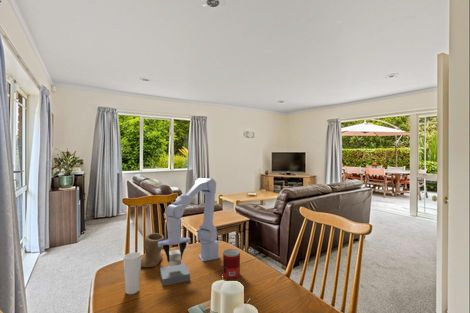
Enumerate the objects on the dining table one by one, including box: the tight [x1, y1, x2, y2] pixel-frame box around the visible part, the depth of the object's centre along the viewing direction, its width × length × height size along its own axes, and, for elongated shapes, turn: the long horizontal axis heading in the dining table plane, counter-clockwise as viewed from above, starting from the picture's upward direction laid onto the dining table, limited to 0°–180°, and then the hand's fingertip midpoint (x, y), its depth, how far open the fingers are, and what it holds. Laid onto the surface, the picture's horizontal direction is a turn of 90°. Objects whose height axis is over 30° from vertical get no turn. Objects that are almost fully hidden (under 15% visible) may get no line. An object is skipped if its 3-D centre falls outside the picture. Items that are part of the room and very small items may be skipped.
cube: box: [168, 249, 182, 266], centre depth 111 cm, size 5×5×5 cm
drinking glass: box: [123, 251, 142, 295], centre depth 99 cm, size 7×7×15 cm
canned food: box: [222, 248, 241, 280], centre depth 112 cm, size 8×8×11 cm
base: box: [159, 262, 191, 287], centre depth 111 cm, size 12×12×3 cm
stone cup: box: [141, 232, 165, 268], centre depth 126 cm, size 15×12×15 cm
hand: (174, 259), depth 111 cm, fingers closed on cube, 5 cm apart
